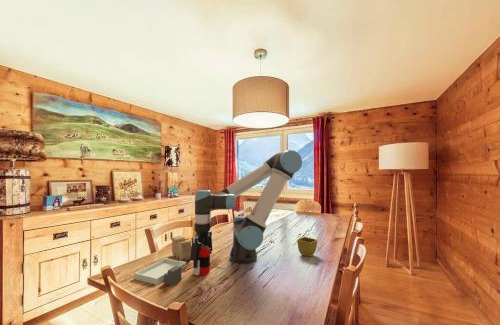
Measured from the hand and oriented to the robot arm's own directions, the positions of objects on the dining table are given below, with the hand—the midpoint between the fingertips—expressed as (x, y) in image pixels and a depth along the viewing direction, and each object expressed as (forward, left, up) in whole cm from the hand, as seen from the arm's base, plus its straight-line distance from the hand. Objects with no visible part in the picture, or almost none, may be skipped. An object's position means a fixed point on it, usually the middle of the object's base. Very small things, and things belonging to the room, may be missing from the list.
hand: (201, 270), depth 108 cm
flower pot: (-43, -43, -1) cm, 61 cm away
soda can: (0, 0, -1) cm, 1 cm away
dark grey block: (+6, +13, -1) cm, 14 cm away
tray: (+17, +8, -1) cm, 19 cm away
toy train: (+21, -11, -1) cm, 24 cm away
